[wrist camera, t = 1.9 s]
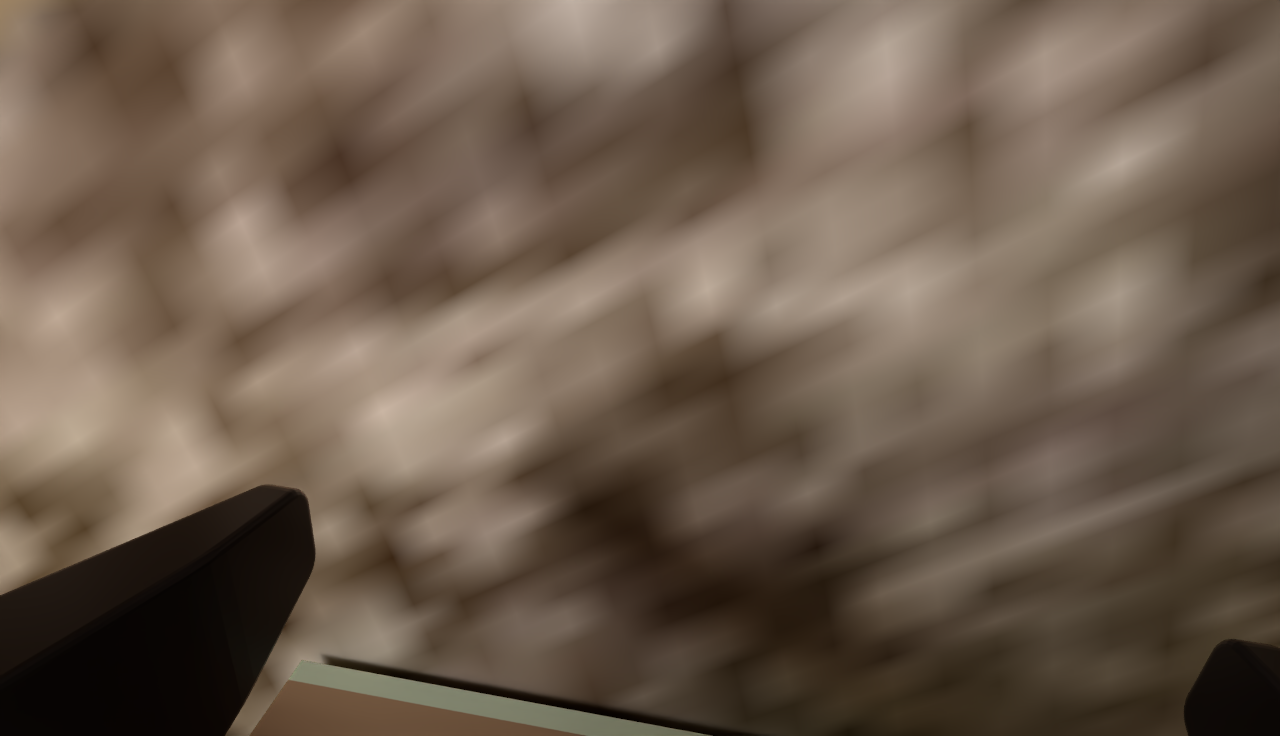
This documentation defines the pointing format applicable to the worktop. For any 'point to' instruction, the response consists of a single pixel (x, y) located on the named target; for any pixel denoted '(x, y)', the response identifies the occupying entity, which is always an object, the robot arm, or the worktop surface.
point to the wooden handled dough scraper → (421, 710)
